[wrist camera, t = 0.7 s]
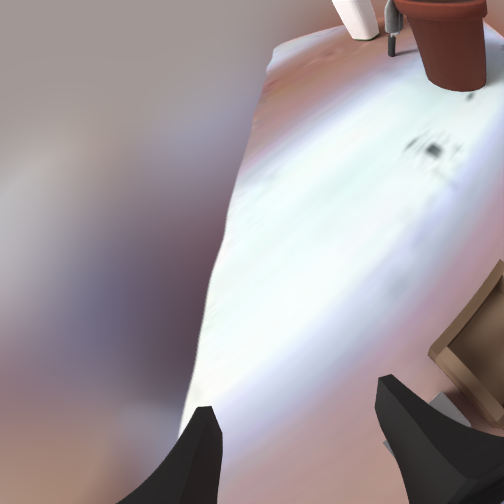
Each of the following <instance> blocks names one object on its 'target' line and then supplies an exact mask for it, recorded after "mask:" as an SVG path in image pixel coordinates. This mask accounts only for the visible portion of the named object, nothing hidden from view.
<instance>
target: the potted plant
mask: <svg viewBox="0 0 504 504" xmlns="http://www.w3.org/2000/svg"><path fill="white" fill-rule="evenodd" d="M403 14H404V15H406V16H407V18H408V21H409V23H410V26H411V29H412V31H413V34H414V37H415V40H416V43H417V46H418V49H419V52H420V55H421V58H422V61H423V65H424V68H425V72H426V75H427V77H428V79H429V80H430V81H431V82H432V83H433V84H435V85H437V86H439V87H441V88H444V89H448V90H451V91H460V92H466V91H474V90H478V89H480V88H481V87H483V86H484V85H485V83H486V56H485V40H484V30H483V21H482V18H484V17H485V16H486V15H487V5H486V0H388V2H387V4H386V7H385V31H386V32H387V33H391V35H390V36H388V55H389V56H391V57H393V56H395V41H396V38H395V36H393V35H399V33H400V31H401V30H402V29H403Z"/></svg>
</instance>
